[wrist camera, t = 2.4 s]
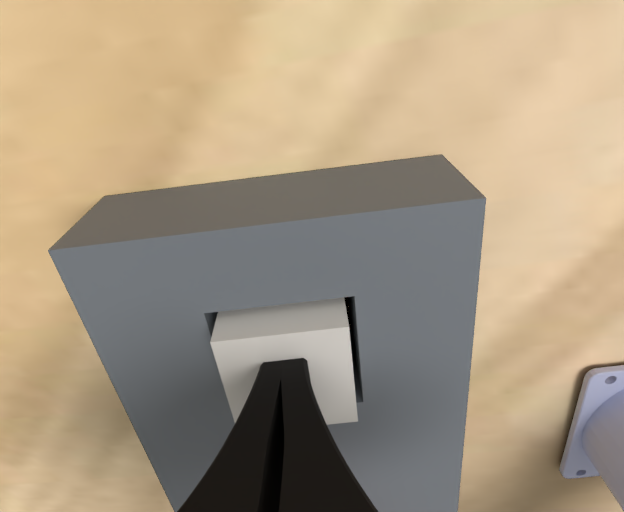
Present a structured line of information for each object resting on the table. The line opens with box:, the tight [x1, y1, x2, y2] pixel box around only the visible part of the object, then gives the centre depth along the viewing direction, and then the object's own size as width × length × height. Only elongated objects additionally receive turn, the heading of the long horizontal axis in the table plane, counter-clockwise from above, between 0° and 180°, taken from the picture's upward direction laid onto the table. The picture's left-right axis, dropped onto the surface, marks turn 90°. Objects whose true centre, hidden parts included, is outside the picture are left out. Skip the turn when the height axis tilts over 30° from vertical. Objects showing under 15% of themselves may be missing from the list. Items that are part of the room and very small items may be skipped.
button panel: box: [48, 155, 486, 512], centre depth 21 cm, size 12×32×4 cm, turn 7°
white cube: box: [210, 297, 358, 425], centre depth 15 cm, size 4×4×4 cm
